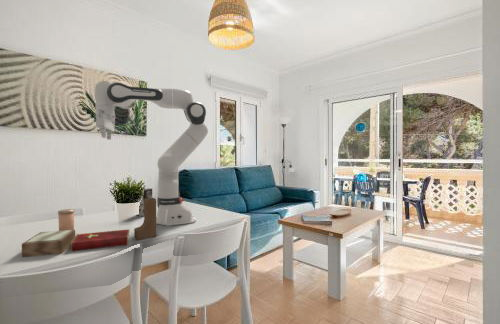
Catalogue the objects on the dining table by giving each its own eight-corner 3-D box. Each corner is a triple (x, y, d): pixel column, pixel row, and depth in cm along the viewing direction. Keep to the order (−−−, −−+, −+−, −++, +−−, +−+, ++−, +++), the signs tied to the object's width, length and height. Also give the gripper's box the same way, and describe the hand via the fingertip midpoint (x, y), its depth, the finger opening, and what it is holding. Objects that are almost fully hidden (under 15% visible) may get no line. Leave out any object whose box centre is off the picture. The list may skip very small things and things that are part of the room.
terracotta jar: (76, 233, 129) (76, 208, 128) (71, 237, 123) (71, 211, 122) (61, 234, 127) (61, 209, 127) (55, 238, 121) (55, 212, 121)
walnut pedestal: (75, 240, 118) (75, 229, 118) (61, 253, 103) (61, 240, 103) (40, 243, 114) (40, 231, 114) (22, 256, 100) (21, 243, 99)
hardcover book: (128, 245, 114) (128, 236, 113) (70, 252, 106) (70, 242, 105) (129, 237, 125) (129, 228, 124) (77, 242, 117) (77, 233, 116)
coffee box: (144, 216, 163) (144, 190, 163) (135, 215, 164) (135, 189, 164) (152, 212, 172) (152, 188, 171) (144, 212, 173) (143, 188, 173)
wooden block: (136, 240, 119) (136, 200, 118) (134, 237, 123) (133, 199, 122) (156, 236, 125) (156, 198, 124) (153, 234, 128) (153, 197, 128)
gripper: (106, 108, 131) (107, 136, 131) (116, 116, 151) (117, 140, 151) (91, 108, 129) (93, 136, 129) (104, 116, 149) (105, 140, 149)
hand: (106, 138), depth 140 cm, fingers open, 8 cm apart
